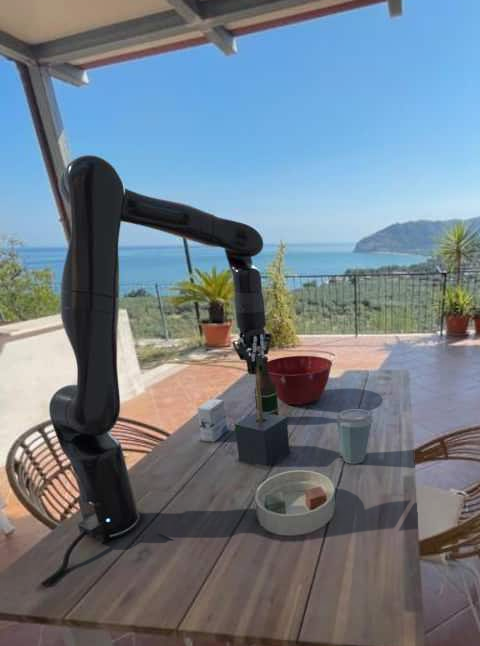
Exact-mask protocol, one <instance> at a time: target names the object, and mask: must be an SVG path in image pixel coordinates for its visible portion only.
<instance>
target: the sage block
mask: <svg viewBox="0 0 480 646" xmlns="http://www.w3.org/2000/svg"><path fill="white" fill-rule="evenodd" d="M265 503H266V509H267V510H269V511H272V512H275V513H279V514H286V507H285V500H284V497H283V494H282V492H279V493H274V494H269V495H265Z"/></svg>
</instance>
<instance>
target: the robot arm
mask: <svg viewBox="0 0 480 646" xmlns="http://www.w3.org/2000/svg"><path fill="white" fill-rule="evenodd" d="M58 189H59V193H60V195H61V197H62V199H63V200H64V202H65V203H66V204H67V205H68V206H69V207H70V221H71V225H70V226H71V229H70V230H71V231H70V238H69V244H68V247H67V252H66V256H65V260H64V264H63V270H62V273H61V274H62V275H61V281H60V303H59V304H60V305H59V306H60V317H61V322H62V326H63V329H64V332H65V334H66V337H67V338H68V341H69V344H70V346H71V349H72V351H73V354H74V358H75V361H76V370H77V371H76V372H77V373H76V384H68V385H65V386H63V387H61V388H59V389H57V391H56V392H55V393H53V395H52V396H51V398H50V402H49V405H48V412H49V416H50V421H51V425H52V427H53V430H54V434H55V436H56V438H57V441H58V444H59V447H60V449H61V451H62V452H63V454H64V455H65V456H66V458H67V459H68V460H69V462H70V466H71V468H72V471H73V474H74V478H75V481H76V485H77V488H78V491H79V496H77V498H76V500H77V504H78V507H79V509H80V513H81V517H82V521H80V522H78V523H77V527H78V531H79V532H80V533H79V535H78V536H76V538H75V539H74V540H73V541H72V542H71V543H70V545H69V546H68V547H67V549H66V551H65V553H64V555H63V560H62V563H61V565H60V567H59V568H58V569H57V570H56V571H55V572H53V574H51V575H50V576H48V577H47V578H45V579H44V580H42V581H41V582H40V583H41V586H43V587H46V586H47V585H49V583H51V582H53V581H54V580H55V579H57V578H59V576H60V575H62V574H63V572H64V571H65V570H66V569H67V567H68V564H69V562H70V561H69V560H70V557H71V554H72V552H73V551H74V549H75V548H76V546H77V545H78V544H79V543H80V541H81V540H82V539H83V538H84V537H86V536H87V537H89V538H91V539H93V540H94V539H96V540H97V539H98V540H99V541H102V542H104V543H105V542H107V541H109V540H111V539H115V538H119V537H122V536H123V535H126V534H128V533H130V532H131V531H132V530H134V529H135V528H137V526H138V524H139V523H140V519H141V517H140V513H139V511H138V508H137V503H136V499H135V496H134V492H133V491H134V490H133V487H132V483H131V479H130V475H129V471H128V468H127V463H126V459H125V454H124V451H123V448H122V444H121V442H120V441H119V439H117V438H116V437H115V436H114V435H113V434H112V433H111V430H112V429H113V428H114V427H115V426H116V424H117V423H118V420H119V418H120V413H121V394H120V384H119V375H118V330H119V329H118V326H119V312H120V311H119V310H120V261H119V259H120V258H119V240H120V232H121V231H120V230H121V226H122V225H121V224H122V223H128V224H132V225H137V226H141V227H145V228H149V229H152V230H156V231H160V232H163V233H166V234H169V235H173V236H175V237H179V238H182V239H185V240H188V241H191V242H194V243H198V244H201V245H204V246H207V247H212V248H213V247H214V248H222V249H224V253H225V256H226V260H227V263H228V266H229V269H230V272H231V275H232V285H233V304H234V313H235V322H236V328H238V329H239V335H238V337H239V338H238V339H237V340H233V341H232V346H233V349H234V350H235V352H236V354H237V356H238V358H239V360H240V361H245V362H246V367H247V368H246V369H247V373H248V374H249V375H252V376H253V375H254V374H256V365H255V361H254V360H255V354H261V355H262V365H261V366H258V370H259V371H261V372H262V371H264V360H263V358H264V356H266V355H268V354H269V351H270V346H271V342H272V337H273V336H272V335H273V334H272V333H268V332H266V331H265V328H266V326H267V319H266V308H265V299H264V294H263V285H262V275H261V271H260V270H259V269H258V268H257V267H256V266H255V265H254V262H253V257H255V256H258V255H259V254H260V253H261V252H262V250H263V249H264V238H263V236H262V234H261V233H260V232H259V230H258V229H257V228H255V227H254V226H251V225H250V224H247V223H244V222H240V221H236V220H231V219H229V218H223V217H220V216H217V215H216V214H214V213H211V212H208V211H206V210H203V209H200V208H197V207H195V206H192V205H189V204H185V203H182V202H177V201H172V200H166V199H161V198H156V197H152V196H148V195H145V194H141V193H138V192H136V191H133V190H130V189H128V188H126V187H125V184H124V182H123V180H122V177H121V176H120V174H119V172H118V171H117V169H116V168H115V167H114V166H113V165H112V164H111V163H110V162H109V161H107V160H106V159H104V158H102V157H99V156H96V155H91V154H90V155H89V154H88V155H82V156H79V157H76V158H74V159H72V160H71V161H70V162H69V163H68V164H67V165H66V166H65V168H64V169H63V170H62V172H61V174H60V175H59V178H58ZM249 355H250V356H249ZM254 376H255V375H254Z"/></svg>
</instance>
